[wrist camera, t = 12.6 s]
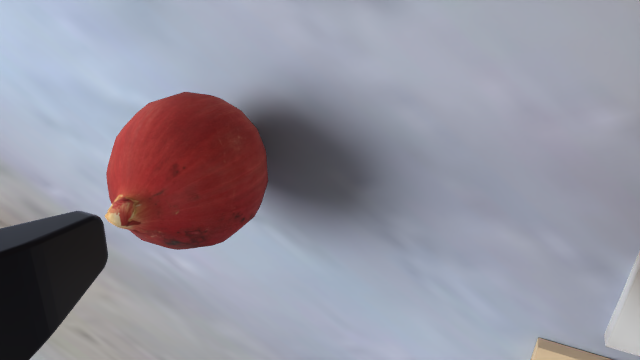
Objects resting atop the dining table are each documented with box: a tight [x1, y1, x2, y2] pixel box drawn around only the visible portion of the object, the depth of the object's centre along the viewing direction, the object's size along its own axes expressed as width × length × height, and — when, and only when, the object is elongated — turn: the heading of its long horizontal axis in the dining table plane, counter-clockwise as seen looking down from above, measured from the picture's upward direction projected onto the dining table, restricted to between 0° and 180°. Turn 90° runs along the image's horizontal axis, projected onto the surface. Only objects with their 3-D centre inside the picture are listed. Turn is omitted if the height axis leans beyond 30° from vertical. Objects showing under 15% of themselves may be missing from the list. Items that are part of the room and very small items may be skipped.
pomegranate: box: [105, 92, 268, 250], centre depth 20 cm, size 6×6×8 cm
